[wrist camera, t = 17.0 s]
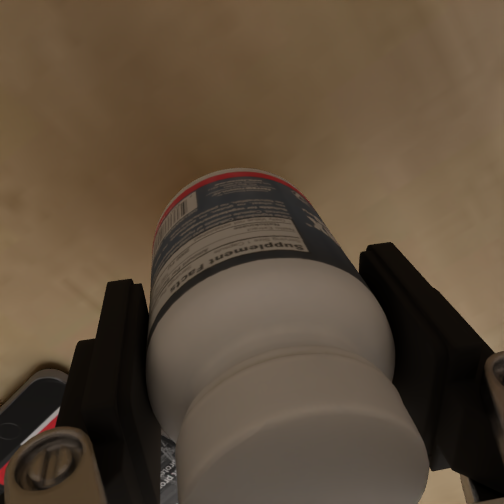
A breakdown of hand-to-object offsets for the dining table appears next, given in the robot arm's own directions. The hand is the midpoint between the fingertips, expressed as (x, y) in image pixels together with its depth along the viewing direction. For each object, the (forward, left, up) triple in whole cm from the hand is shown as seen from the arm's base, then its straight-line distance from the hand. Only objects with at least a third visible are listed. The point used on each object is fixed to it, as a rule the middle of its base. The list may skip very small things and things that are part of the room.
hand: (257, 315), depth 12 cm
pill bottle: (0, 0, -4) cm, 4 cm away
